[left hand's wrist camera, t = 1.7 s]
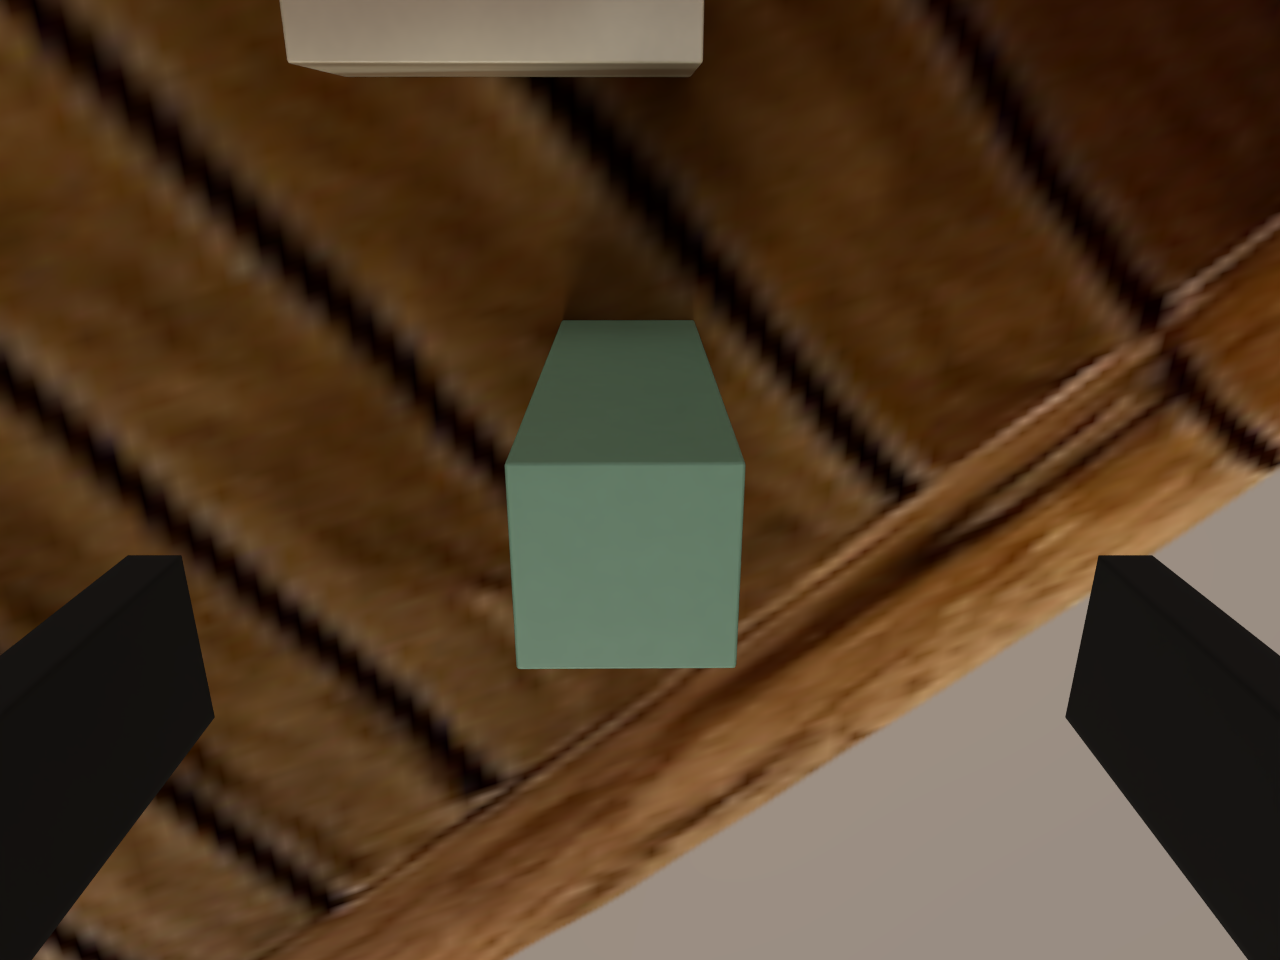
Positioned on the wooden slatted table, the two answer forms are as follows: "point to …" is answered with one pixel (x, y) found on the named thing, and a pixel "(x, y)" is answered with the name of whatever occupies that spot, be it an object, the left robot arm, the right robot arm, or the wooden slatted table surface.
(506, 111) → the wooden slatted table surface
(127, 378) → the wooden slatted table surface
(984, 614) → the wooden slatted table surface
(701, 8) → the peg board
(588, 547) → the peg
